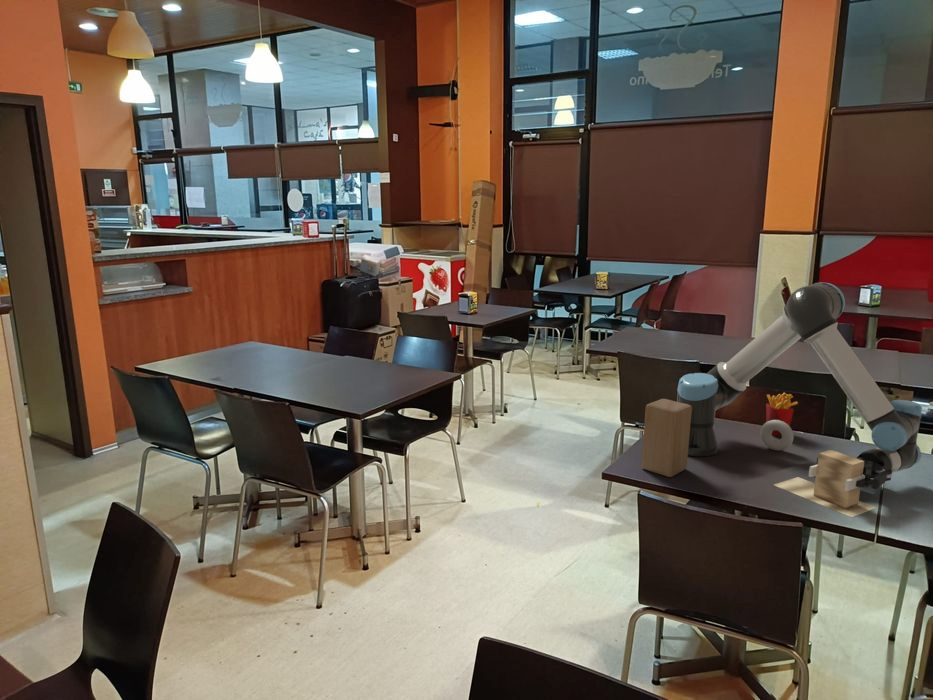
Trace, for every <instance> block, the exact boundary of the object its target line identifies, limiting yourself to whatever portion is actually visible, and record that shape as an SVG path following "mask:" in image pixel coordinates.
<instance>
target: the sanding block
mask: <svg viewBox="0 0 933 700" xmlns="http://www.w3.org/2000/svg"><path fill="white" fill-rule="evenodd" d="M817 458H818V465H817V472H816V476H815V481H814V483H815V487H814V495H813V496H815V497H817V498H820V499H822V500H825V501H827V502H830V503H832V504H835V505H837V506H840V507H842V508H845V509H848V508H851V507H854V506H857V505H858V501H860V493H861V488H859V487H858V488H855V489H853V490H850V491H845V484H846V480H848V479H851V478H854V477H857V476H860V475H862V476H863V468H864V461H862V460H859V459H856V458H857V457H853V456H850V455H848V454H845V453H841V452H839V451H836V450H832V449H829V450H825V451H822V452H819V453H818V457H817Z"/></svg>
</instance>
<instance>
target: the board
mask: <svg viewBox="0 0 933 700" xmlns="http://www.w3.org/2000/svg"><path fill="white" fill-rule="evenodd" d="M773 486H775V487H777V488H779V489H781V490H784V491H786V492H789V493H792V494H794V495H797V496H799V497H801V498H804V499H806V500H808V501H811V502H813V503H816V504H818V505H821V506H823V507H825V508H828V509H830V510H833V511H835V512H838V513H840V514H843V515H844V516H847V517H849V518H854V517H856V516H859V515H862V514H865V513H867V512H869V511H872V510H874V509H875V510H876V509H877V507H876V506H875V505H872V504H868V503H866V502H863V501H861V500H859V501H858V505H857V506H854V507H851V508H848V509H845V508H842V507H840V506H837V505H835V504H832V503H830V502H827V501H825V500H822V499H820V498H817V497H815V496H813V495H814V487H815V482H812V481H810V480H806V479H804V478H801V477H799V476H797V477H793V478H790V479H787V480H784V481H780V482H778V483H774V484H773Z"/></svg>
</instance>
